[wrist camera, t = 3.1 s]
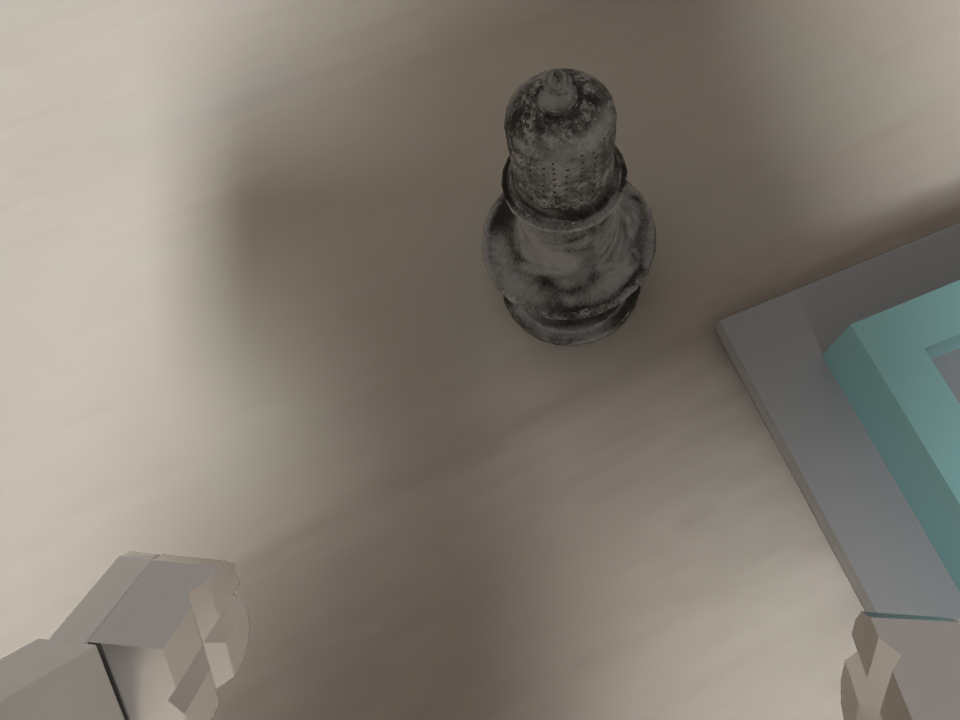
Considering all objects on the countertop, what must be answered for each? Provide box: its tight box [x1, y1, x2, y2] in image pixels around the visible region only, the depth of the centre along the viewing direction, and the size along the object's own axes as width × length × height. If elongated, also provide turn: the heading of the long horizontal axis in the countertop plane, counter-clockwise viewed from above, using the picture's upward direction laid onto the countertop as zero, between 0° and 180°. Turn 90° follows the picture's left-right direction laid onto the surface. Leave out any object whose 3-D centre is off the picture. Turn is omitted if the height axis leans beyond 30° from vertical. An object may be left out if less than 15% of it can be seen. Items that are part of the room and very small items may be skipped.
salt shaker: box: [482, 69, 656, 345], centre depth 23 cm, size 6×6×12 cm
